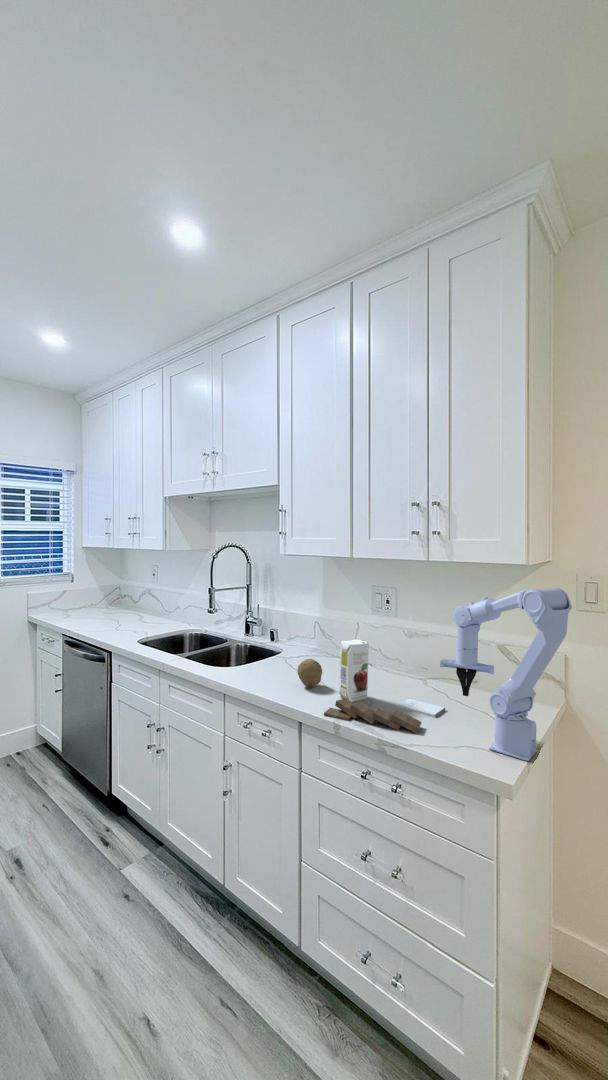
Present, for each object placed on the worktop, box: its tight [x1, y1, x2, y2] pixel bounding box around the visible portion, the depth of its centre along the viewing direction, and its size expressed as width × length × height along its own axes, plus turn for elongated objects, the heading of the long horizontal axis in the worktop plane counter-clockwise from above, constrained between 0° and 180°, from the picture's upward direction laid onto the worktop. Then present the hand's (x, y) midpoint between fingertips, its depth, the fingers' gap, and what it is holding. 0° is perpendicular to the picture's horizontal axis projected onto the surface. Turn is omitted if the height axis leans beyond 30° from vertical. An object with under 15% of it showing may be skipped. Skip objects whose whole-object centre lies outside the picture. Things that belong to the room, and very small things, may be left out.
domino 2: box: [334, 698, 361, 720], centre depth 142 cm, size 2×5×8 cm
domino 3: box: [350, 700, 379, 725], centre depth 138 cm, size 2×5×8 cm
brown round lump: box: [297, 658, 323, 689], centre depth 167 cm, size 9×9×10 cm
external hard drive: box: [397, 698, 446, 719], centre depth 148 cm, size 2×8×12 cm
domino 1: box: [323, 707, 353, 721], centre depth 141 cm, size 2×5×8 cm
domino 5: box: [390, 708, 423, 734], centre depth 133 cm, size 2×5×8 cm
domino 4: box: [372, 707, 402, 731], centre depth 135 cm, size 2×5×8 cm
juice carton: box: [339, 639, 370, 703], centre depth 156 cm, size 8×9×19 cm
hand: (465, 695), depth 134 cm, fingers closed
